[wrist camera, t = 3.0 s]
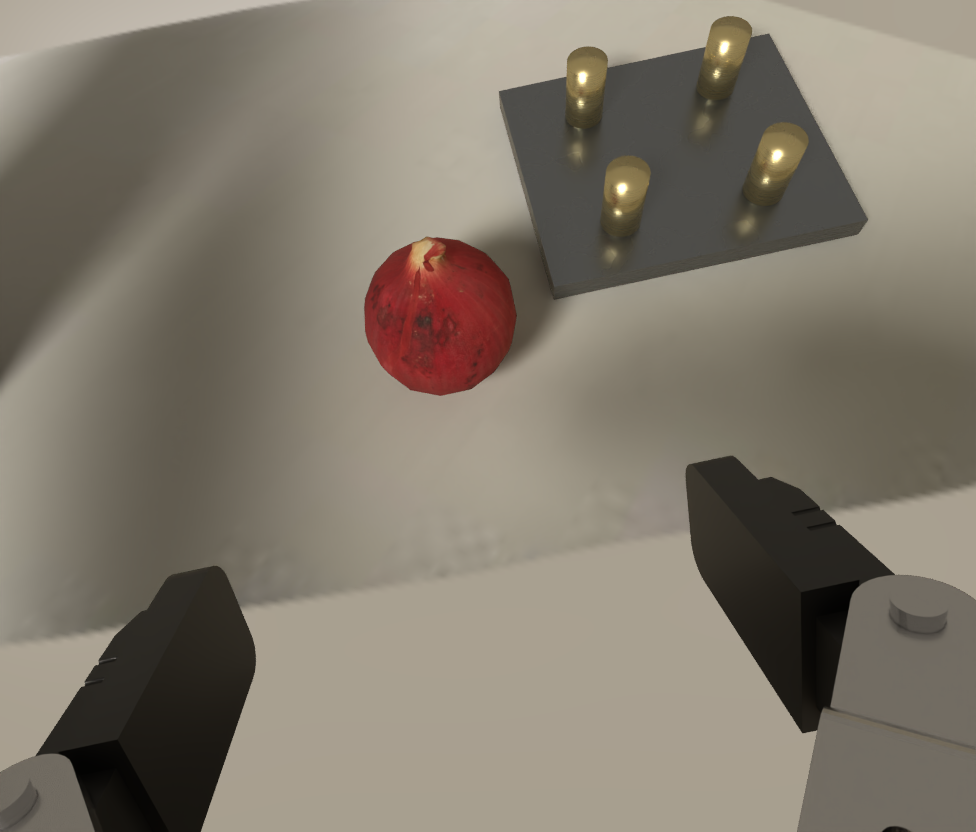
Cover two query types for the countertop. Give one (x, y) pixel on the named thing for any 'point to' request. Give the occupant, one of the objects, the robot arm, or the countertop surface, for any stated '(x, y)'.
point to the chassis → (673, 163)
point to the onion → (439, 316)
